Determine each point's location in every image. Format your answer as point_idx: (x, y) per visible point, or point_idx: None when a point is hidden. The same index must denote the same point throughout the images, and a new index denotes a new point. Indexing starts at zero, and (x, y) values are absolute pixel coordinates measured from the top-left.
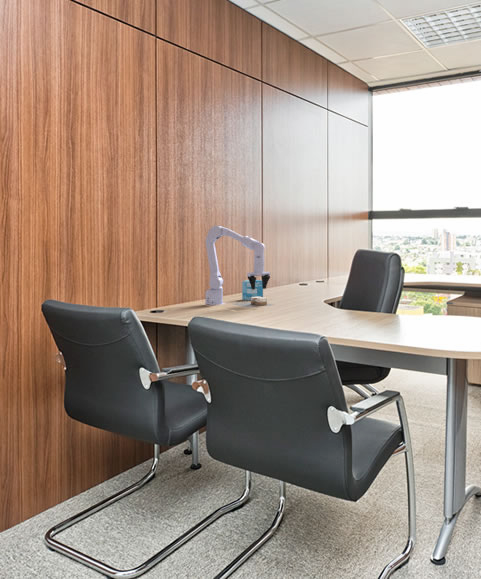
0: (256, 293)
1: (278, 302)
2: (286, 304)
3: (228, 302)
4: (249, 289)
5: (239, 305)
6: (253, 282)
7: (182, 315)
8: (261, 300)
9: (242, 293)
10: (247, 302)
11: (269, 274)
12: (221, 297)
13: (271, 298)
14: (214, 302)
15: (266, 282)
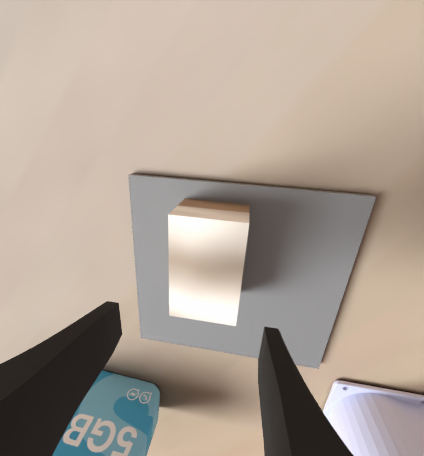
0: (83, 409)
1: (36, 270)
2: (30, 181)
3: (254, 413)
4: (112, 453)
5: (341, 297)
6: (329, 424)
7: None
8: (228, 215)
9: (148, 448)
10: (204, 346)
11: None
12: (385, 437)
13: None
14: (419, 417)
15: (45, 354)
